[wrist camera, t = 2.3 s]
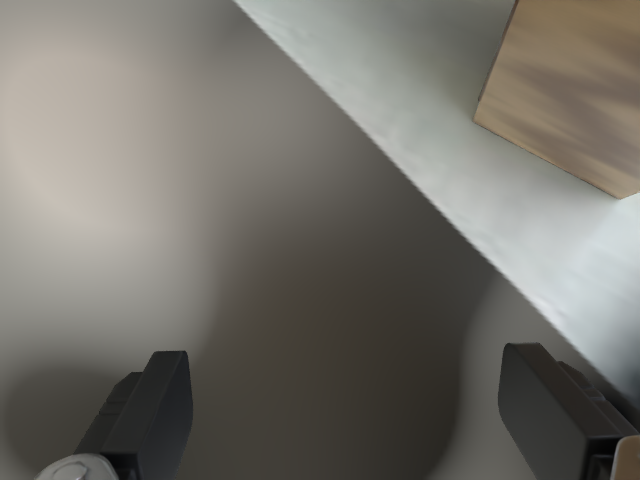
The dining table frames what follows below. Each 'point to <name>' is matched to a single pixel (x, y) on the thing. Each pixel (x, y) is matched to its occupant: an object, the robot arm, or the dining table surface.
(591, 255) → the dining table surface
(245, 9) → the dining table surface
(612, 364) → the dining table surface
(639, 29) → the step stand
